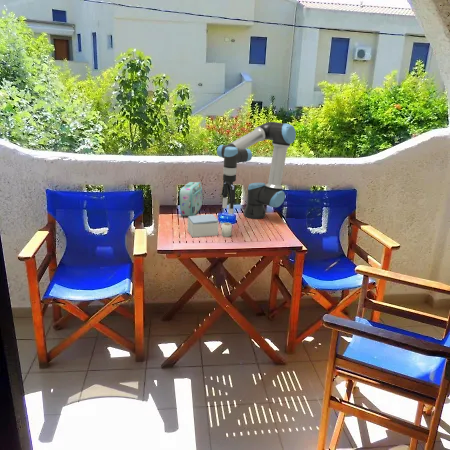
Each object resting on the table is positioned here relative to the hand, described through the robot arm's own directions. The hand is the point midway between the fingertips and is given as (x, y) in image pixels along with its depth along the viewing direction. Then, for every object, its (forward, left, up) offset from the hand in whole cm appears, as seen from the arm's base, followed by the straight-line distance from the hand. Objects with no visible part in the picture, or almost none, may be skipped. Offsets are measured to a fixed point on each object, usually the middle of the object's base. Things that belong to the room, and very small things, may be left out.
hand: (227, 210), depth 250 cm
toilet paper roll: (0, 0, -16) cm, 16 cm away
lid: (+13, -7, -7) cm, 16 cm away
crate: (+13, -7, -16) cm, 22 cm away
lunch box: (+10, -45, -16) cm, 49 cm away
